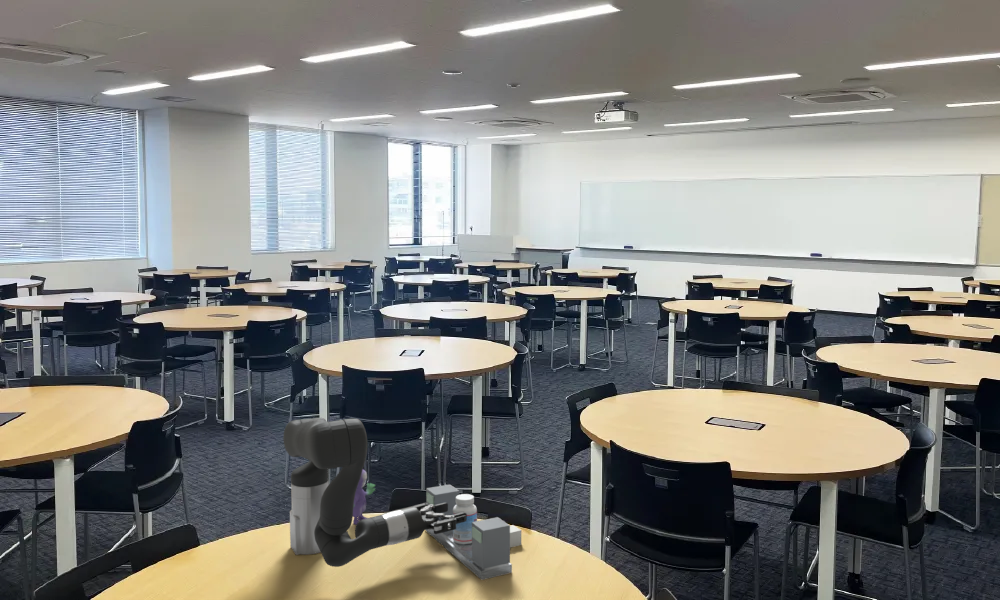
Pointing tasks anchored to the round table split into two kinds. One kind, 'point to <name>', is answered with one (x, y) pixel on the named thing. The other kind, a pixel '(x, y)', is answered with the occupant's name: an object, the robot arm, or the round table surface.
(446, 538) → the rail
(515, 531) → the box
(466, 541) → the pill bottle
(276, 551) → the round table surface
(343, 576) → the round table surface
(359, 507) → the toy
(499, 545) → the modules
